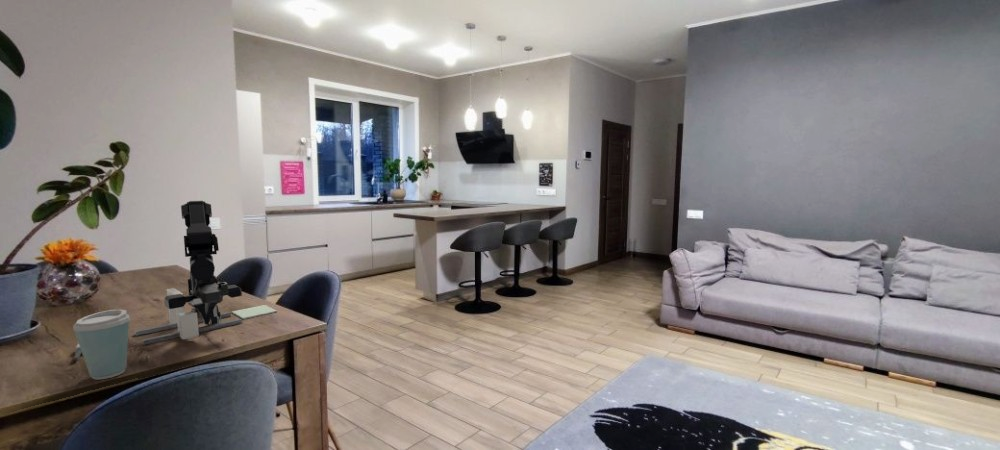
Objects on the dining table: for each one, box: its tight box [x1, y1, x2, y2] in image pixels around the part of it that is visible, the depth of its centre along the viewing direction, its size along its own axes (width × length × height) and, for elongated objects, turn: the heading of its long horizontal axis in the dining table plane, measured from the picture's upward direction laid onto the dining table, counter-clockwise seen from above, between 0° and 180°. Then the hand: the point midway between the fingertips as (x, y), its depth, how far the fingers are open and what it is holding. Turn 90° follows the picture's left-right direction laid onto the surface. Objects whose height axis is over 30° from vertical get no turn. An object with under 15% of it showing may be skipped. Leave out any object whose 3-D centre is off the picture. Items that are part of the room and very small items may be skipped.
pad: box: [231, 304, 278, 320], centre depth 162 cm, size 11×11×1 cm
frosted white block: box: [166, 287, 200, 340], centre depth 139 cm, size 20×4×11 cm, turn 47°
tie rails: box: [134, 311, 243, 346], centre depth 145 cm, size 13×26×1 cm, turn 137°
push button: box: [209, 296, 224, 325], centre depth 150 cm, size 7×5×10 cm
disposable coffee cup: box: [72, 309, 131, 380], centre depth 111 cm, size 11×11×15 cm
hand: (206, 324), depth 137 cm, fingers closed
